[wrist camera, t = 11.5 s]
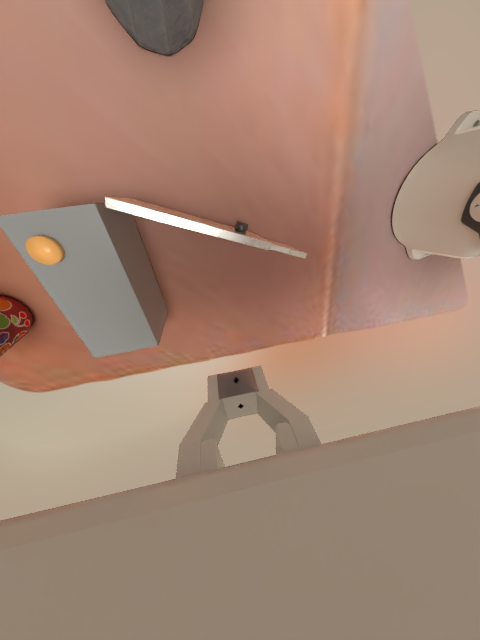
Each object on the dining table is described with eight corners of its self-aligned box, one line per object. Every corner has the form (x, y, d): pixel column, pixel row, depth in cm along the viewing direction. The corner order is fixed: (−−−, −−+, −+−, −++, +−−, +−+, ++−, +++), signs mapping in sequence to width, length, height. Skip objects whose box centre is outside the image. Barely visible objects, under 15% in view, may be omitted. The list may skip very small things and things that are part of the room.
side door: (132, 188, 23) (104, 183, 16) (287, 235, 29) (313, 245, 22) (132, 205, 24) (105, 207, 17) (282, 247, 30) (306, 260, 23)
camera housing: (128, 202, 24) (89, 203, 16) (170, 318, 33) (160, 356, 25) (60, 211, 23) (-17, 216, 15) (123, 326, 33) (96, 369, 24)
